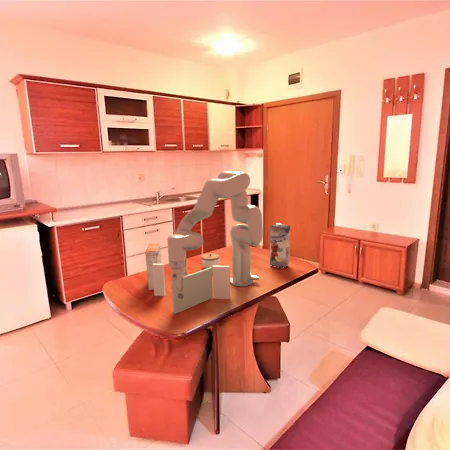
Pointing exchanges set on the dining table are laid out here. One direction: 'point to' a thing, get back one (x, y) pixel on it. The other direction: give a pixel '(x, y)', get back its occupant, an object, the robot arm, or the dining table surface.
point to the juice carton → (279, 245)
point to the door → (192, 290)
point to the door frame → (219, 281)
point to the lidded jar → (210, 260)
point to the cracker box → (152, 262)
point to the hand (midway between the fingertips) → (179, 301)
